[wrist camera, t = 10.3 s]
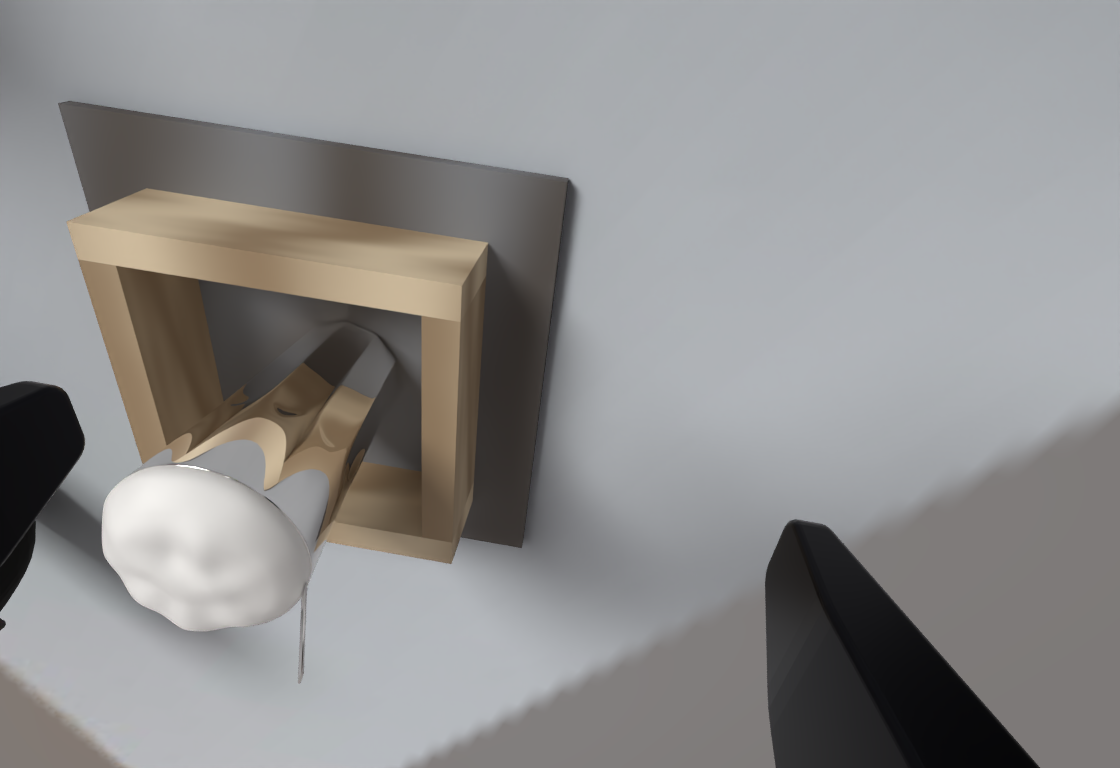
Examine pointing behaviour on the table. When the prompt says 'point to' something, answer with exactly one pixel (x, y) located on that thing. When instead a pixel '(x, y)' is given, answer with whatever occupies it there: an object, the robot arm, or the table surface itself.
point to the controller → (15, 567)
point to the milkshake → (252, 487)
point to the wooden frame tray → (329, 301)
